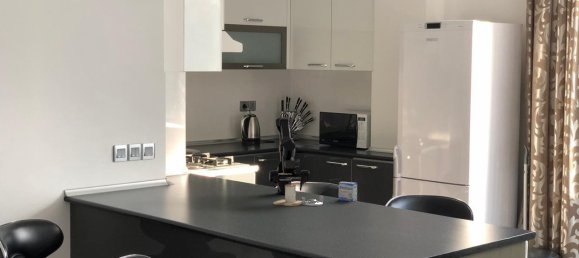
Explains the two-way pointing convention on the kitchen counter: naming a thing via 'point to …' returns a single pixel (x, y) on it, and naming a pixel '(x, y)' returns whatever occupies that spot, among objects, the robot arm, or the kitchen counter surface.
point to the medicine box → (347, 191)
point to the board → (282, 202)
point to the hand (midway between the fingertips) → (290, 190)
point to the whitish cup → (290, 193)
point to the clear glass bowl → (312, 202)
